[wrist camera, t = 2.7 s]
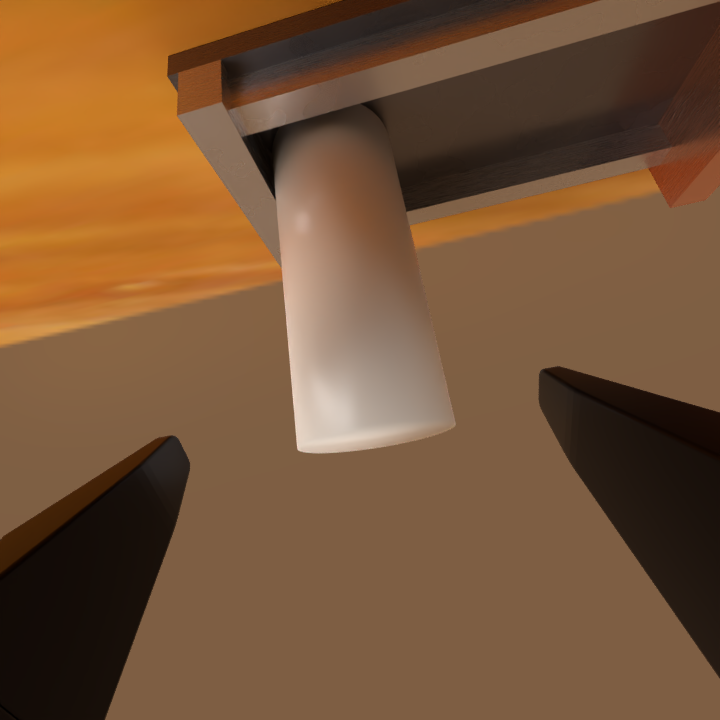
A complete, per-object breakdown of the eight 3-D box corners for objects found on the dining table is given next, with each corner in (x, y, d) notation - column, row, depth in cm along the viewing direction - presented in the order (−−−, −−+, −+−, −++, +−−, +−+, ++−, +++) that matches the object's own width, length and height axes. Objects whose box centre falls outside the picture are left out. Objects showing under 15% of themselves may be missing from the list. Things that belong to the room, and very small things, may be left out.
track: (272, 227, 21) (278, 296, 20) (168, 56, 13) (163, 154, 11) (672, 127, 19) (714, 197, 17) (870, -168, 10) (989, -82, 9)
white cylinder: (296, 211, 19) (322, 457, 15) (250, 119, 14) (270, 443, 10) (395, 186, 18) (451, 435, 14) (382, 81, 13) (461, 409, 9)
